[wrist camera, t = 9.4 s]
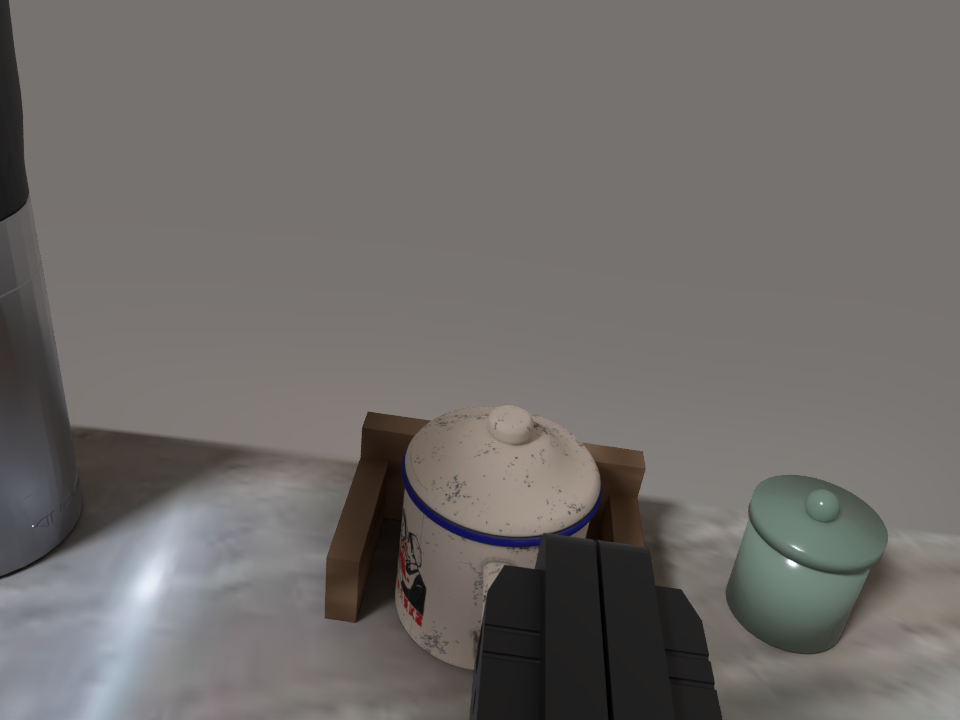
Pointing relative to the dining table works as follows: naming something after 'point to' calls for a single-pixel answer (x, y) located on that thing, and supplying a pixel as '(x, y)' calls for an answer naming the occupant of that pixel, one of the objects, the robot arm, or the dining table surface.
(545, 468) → the teacup with lid
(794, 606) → the green ceramic sugar pot
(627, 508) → the walnut cup holder
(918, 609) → the dining table surface
